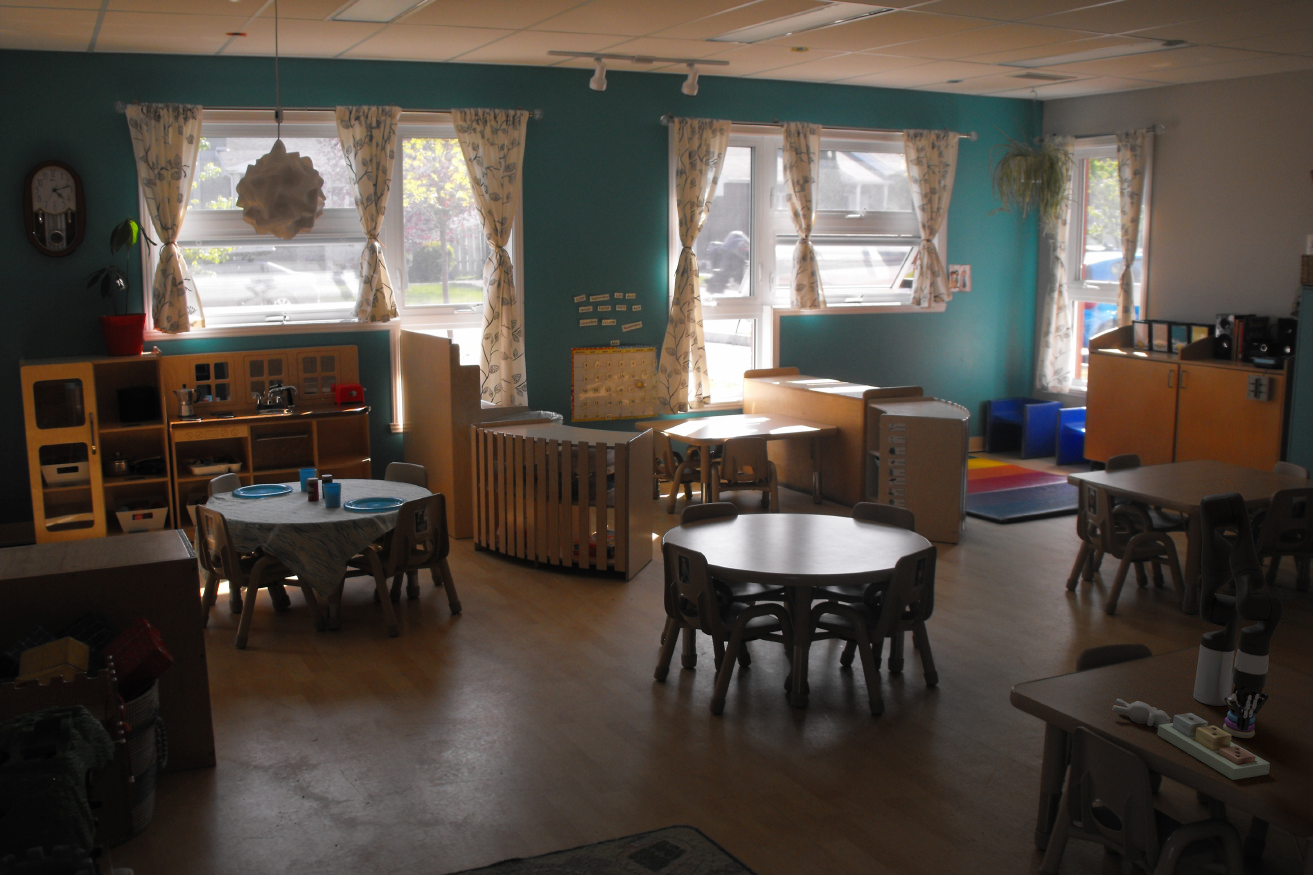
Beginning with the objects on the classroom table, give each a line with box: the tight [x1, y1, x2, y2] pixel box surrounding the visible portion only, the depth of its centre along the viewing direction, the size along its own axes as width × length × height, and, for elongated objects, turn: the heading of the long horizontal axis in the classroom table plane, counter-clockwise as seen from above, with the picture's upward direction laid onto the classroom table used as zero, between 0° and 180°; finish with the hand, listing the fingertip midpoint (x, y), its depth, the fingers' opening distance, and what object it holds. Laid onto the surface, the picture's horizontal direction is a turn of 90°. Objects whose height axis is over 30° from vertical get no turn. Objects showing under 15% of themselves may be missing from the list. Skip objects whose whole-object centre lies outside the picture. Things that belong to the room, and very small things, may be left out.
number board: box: [1156, 722, 1271, 781], centre depth 289 cm, size 12×26×3 cm, turn 18°
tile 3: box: [1218, 745, 1257, 765], centre depth 282 cm, size 6×6×4 cm
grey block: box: [1172, 712, 1209, 738], centre depth 296 cm, size 6×6×4 cm
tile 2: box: [1195, 725, 1233, 751], centre depth 289 cm, size 6×6×4 cm
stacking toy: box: [1222, 709, 1256, 739], centre depth 301 cm, size 8×8×19 cm
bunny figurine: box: [1112, 698, 1172, 729], centre depth 308 cm, size 10×5×15 cm
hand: (1242, 728), depth 280 cm, fingers closed
